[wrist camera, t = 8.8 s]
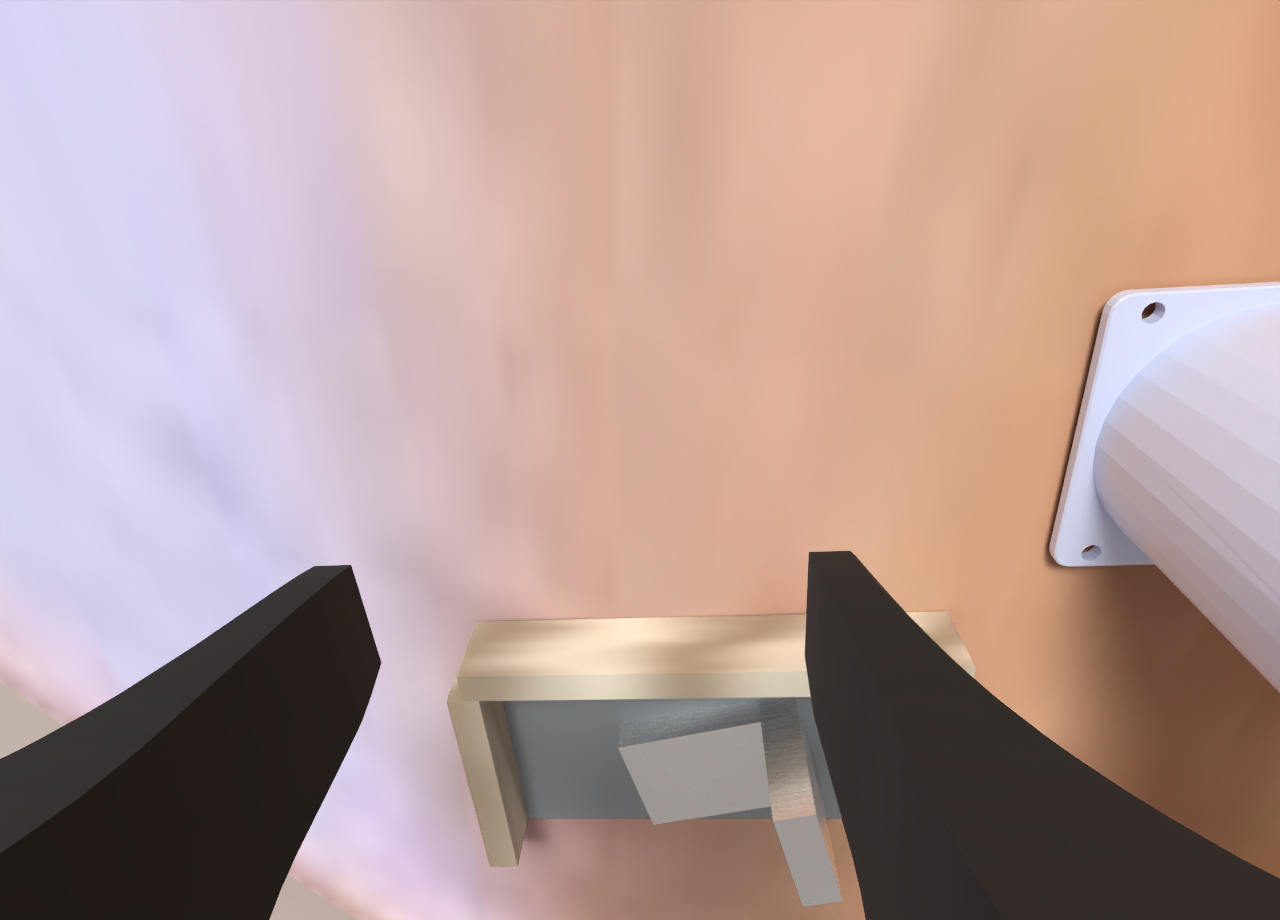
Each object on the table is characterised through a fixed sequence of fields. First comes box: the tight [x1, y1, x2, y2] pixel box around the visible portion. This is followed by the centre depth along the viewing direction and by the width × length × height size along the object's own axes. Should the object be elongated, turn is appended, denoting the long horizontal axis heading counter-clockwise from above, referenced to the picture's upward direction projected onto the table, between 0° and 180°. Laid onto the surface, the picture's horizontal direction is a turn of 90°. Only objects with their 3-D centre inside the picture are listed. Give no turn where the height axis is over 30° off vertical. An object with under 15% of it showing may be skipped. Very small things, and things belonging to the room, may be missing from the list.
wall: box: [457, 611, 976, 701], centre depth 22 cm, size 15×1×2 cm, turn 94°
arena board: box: [503, 697, 842, 818], centre depth 25 cm, size 14×8×1 cm, turn 94°
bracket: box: [618, 697, 843, 907], centre depth 23 cm, size 6×4×4 cm, turn 107°
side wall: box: [447, 647, 528, 867], centre depth 25 cm, size 1×8×2 cm, turn 4°
